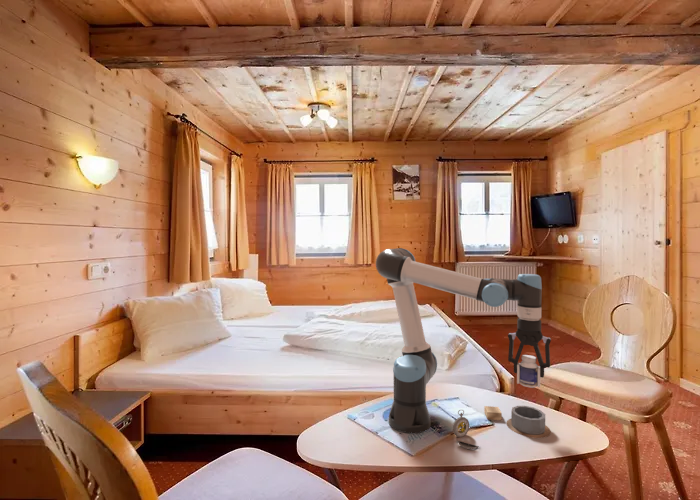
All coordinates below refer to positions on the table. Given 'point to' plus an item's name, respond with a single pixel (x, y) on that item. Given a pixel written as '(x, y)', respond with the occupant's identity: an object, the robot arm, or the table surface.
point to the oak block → (492, 413)
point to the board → (545, 434)
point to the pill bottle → (528, 371)
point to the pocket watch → (462, 430)
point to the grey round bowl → (528, 420)
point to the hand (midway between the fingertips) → (528, 384)
